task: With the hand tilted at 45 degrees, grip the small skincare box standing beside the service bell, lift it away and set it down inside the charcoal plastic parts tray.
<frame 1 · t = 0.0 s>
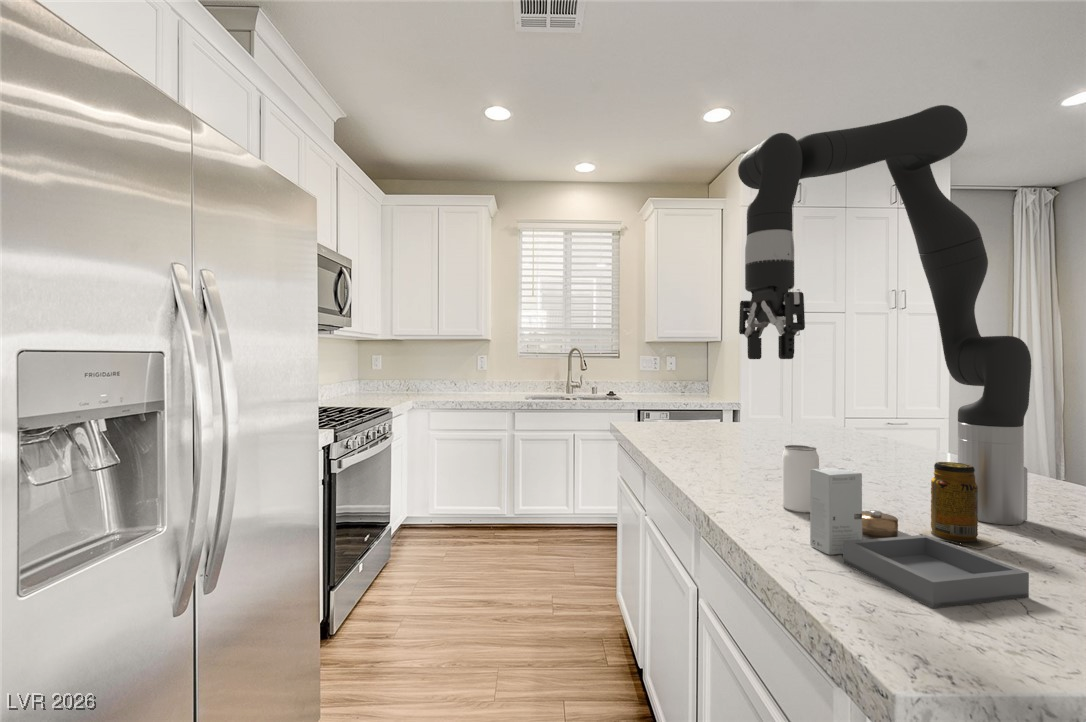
hand: (769, 359, 87), 29 cm above the countertop, tool pointing down, fingers open, 8 cm apart
skincare box: (835, 550, 81), on the countertop
tray: (928, 578, 70), on the countertop
can: (800, 509, 102), on the countertop
condiment: (959, 540, 85), on the countertop
service bell: (875, 537, 86), on the countertop
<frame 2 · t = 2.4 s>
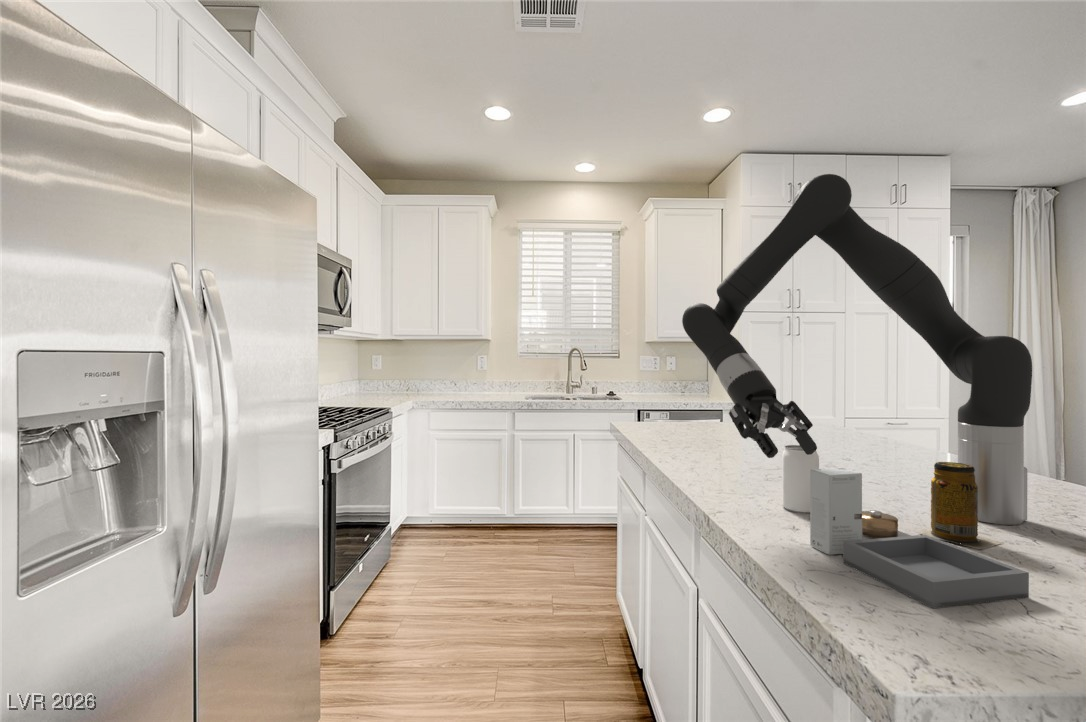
hand: (793, 453, 88), 13 cm above the countertop, tool tilted 45°, fingers open, 8 cm apart
nothing on the countertop moved.
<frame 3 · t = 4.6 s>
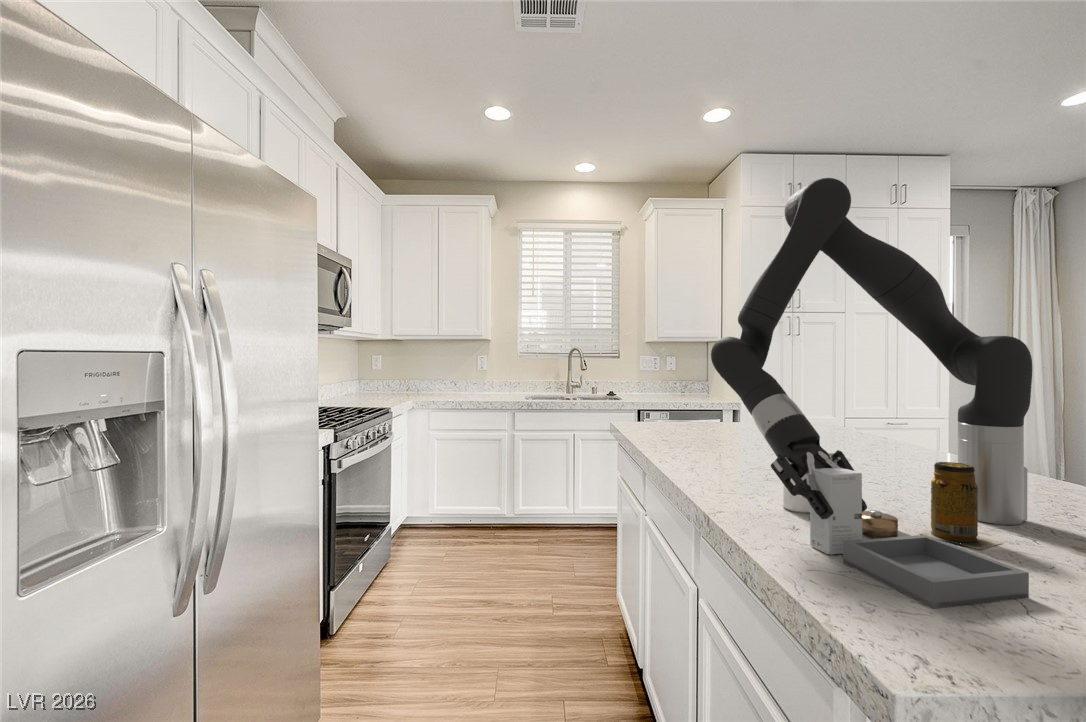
hand: (845, 513, 79), 6 cm above the countertop, tool tilted 45°, fingers closed on skincare box, 6 cm apart
skincare box: (835, 550, 81), on the countertop, touching gripper
everything else where it was.
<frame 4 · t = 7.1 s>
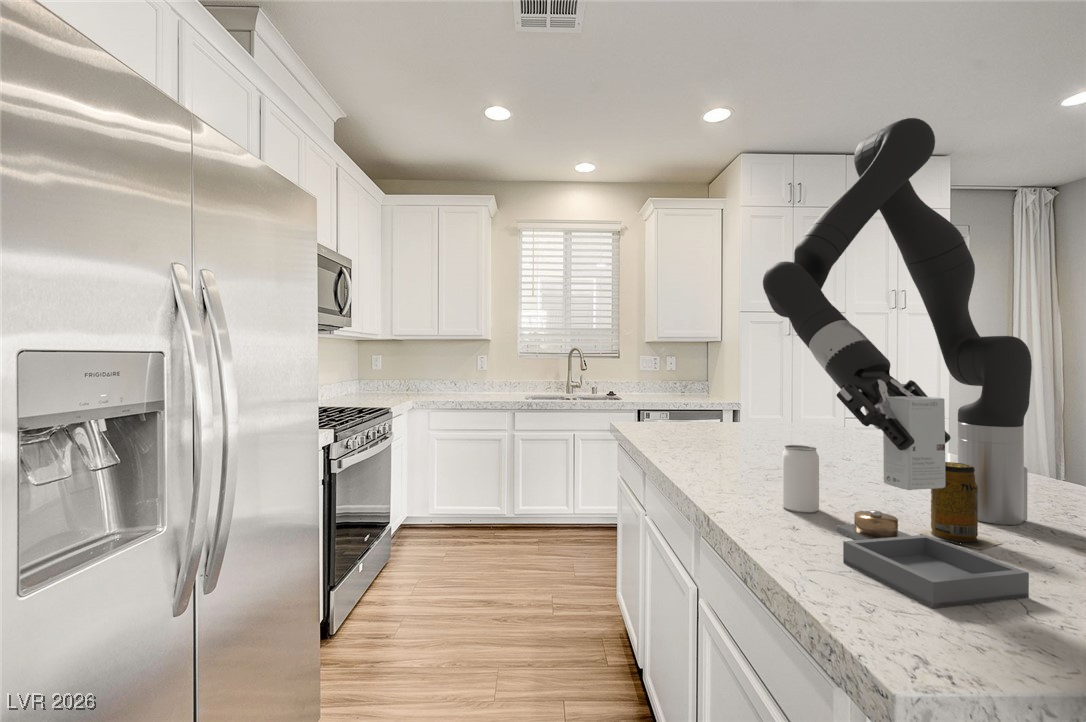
hand: (926, 444, 70), 18 cm above the countertop, tool tilted 45°, fingers closed on skincare box, 6 cm apart
skincare box: (913, 487, 71), point 12 cm above the countertop, touching gripper
everything else where it was.
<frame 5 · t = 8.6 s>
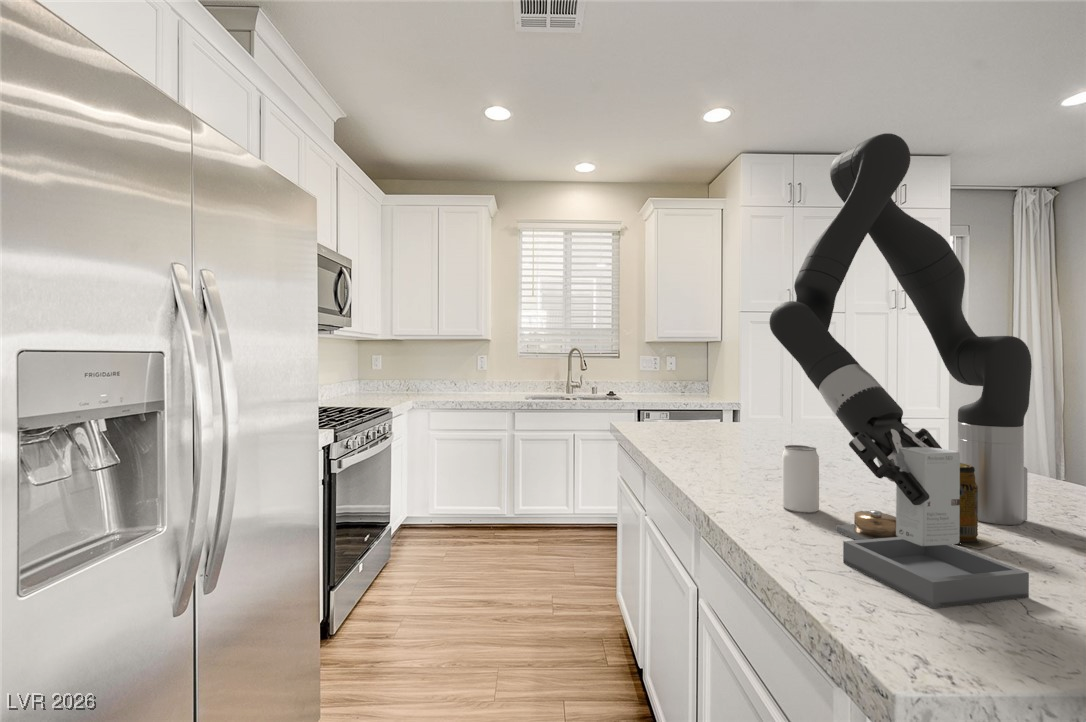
hand: (940, 499, 68), 11 cm above the countertop, tool tilted 45°, fingers closed on skincare box, 6 cm apart
skincare box: (926, 541, 70), point 5 cm above the countertop, touching gripper
everything else where it was.
when the fingers open (8 cm above the countertop, at t = 9.8 s): skincare box drops 1 cm, resting on tray.
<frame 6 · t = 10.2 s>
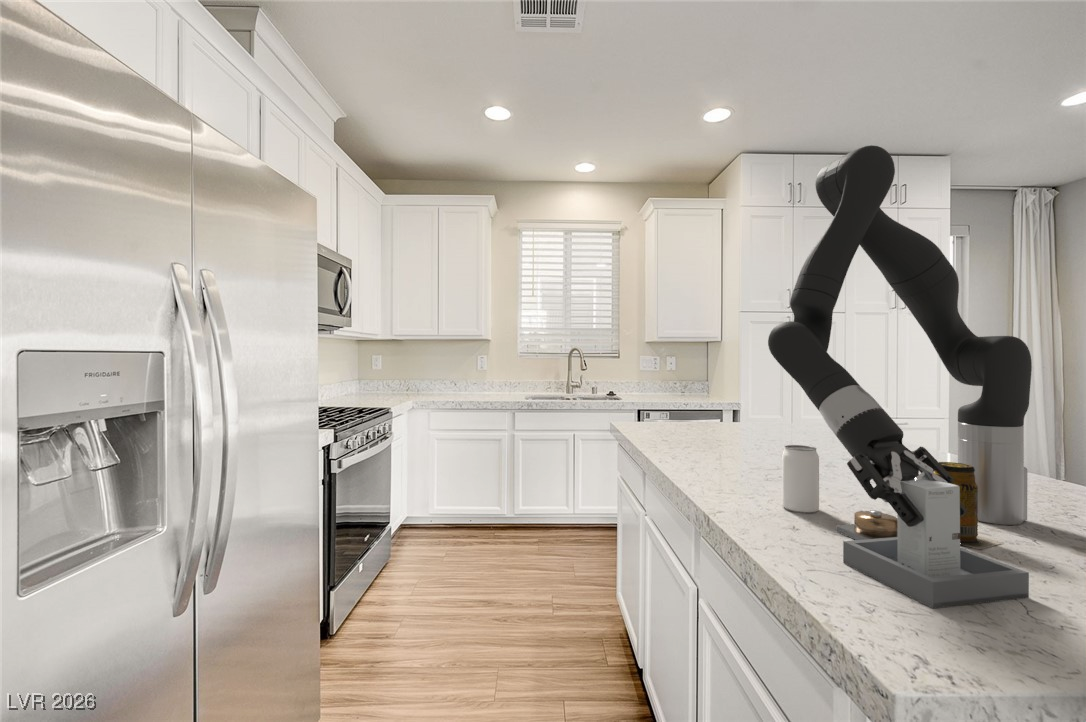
hand: (939, 520, 69), 8 cm above the countertop, tool tilted 45°, fingers open, 8 cm apart
skincare box: (928, 574, 70), resting on tray
everything else where it was.
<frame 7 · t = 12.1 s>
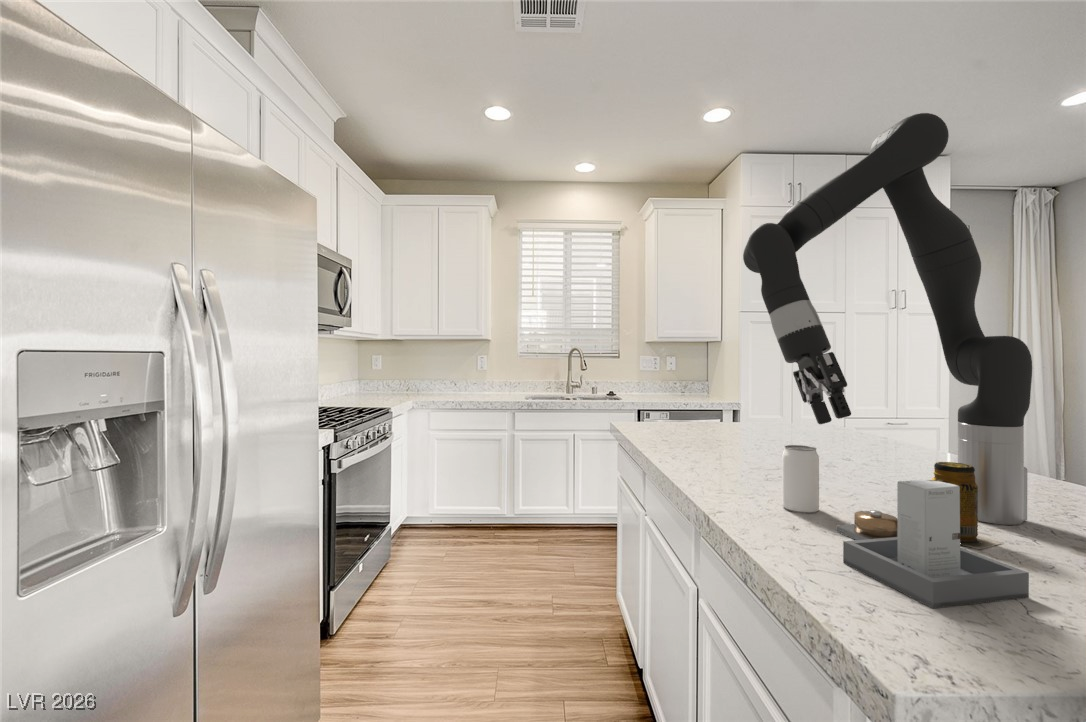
hand: (834, 420, 88), 19 cm above the countertop, tool tilted 20°, fingers open, 8 cm apart
nothing on the countertop moved.
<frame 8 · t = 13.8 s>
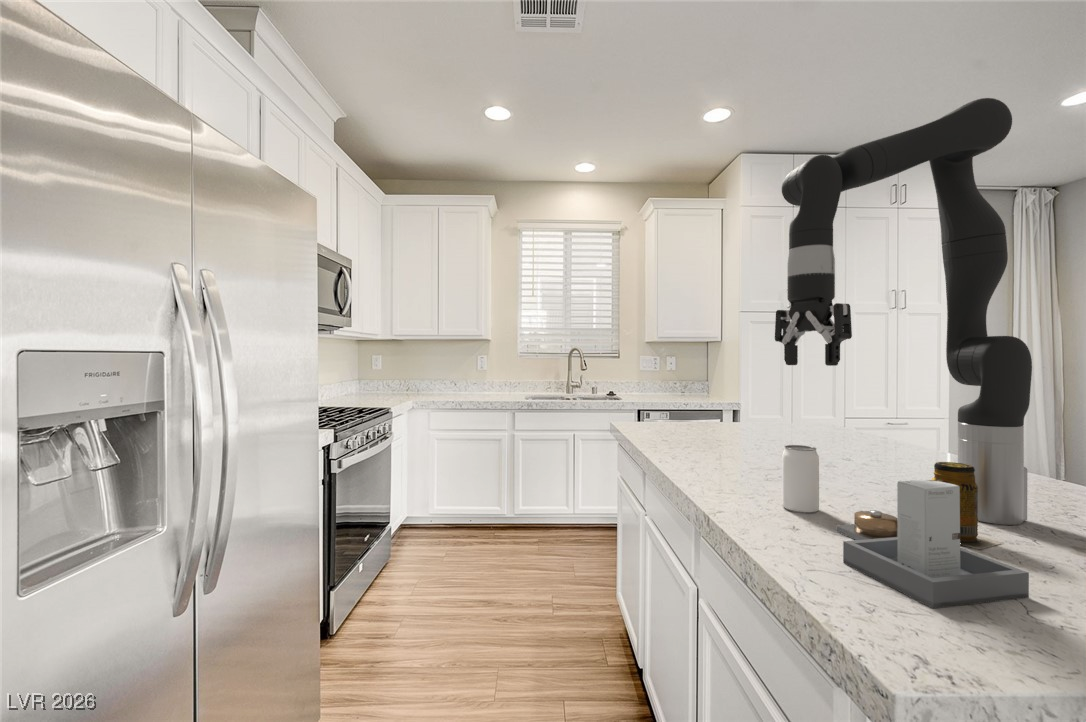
hand: (810, 365, 93), 28 cm above the countertop, tool pointing down, fingers open, 8 cm apart
nothing on the countertop moved.
at the end: skincare box inside the target area on the tray (0.4 cm from its centre), point 0.4 cm above the tray's base; skincare box tilted 0°; the gripper is holding nothing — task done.
